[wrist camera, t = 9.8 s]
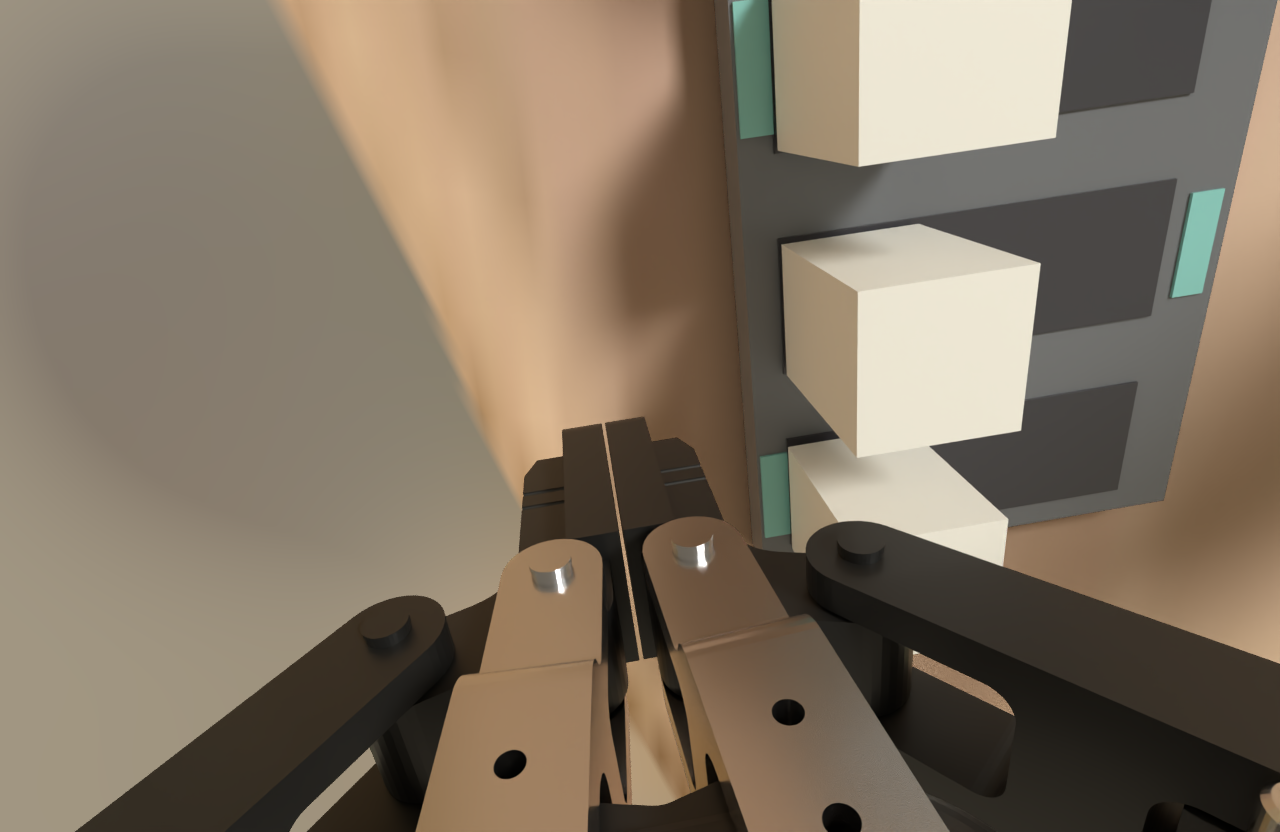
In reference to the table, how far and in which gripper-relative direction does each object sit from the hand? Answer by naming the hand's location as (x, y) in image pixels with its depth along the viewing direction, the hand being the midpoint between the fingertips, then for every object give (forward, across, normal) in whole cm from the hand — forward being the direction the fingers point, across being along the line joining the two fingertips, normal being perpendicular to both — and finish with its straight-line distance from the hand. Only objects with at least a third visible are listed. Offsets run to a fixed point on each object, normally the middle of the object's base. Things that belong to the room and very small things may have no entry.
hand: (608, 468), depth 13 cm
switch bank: (+10, -12, 0) cm, 16 cm away
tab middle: (+8, -8, 0) cm, 11 cm away
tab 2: (+8, -8, +7) cm, 13 cm away
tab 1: (+8, -8, -6) cm, 13 cm away
